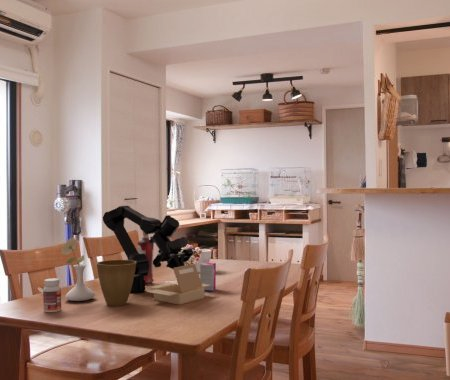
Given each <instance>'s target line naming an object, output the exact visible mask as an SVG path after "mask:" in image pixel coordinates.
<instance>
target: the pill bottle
mask: <svg viewBox="0 0 450 380" xmlns="http://www.w3.org/2000/svg"><path fill="white" fill-rule="evenodd" d="M42 289H43V290H42V291H43V292H42V293H43V294H42V295H43V312H45V313H57V312H60V311H61V310H62V286H60V278H56V277H55V278H54V277H53V278H46V279H44V287H43V288H42Z"/></svg>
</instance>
